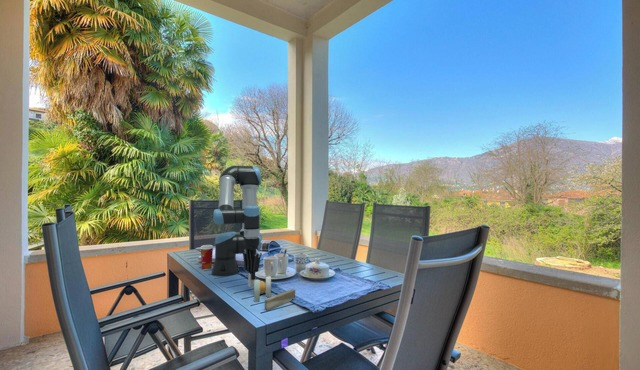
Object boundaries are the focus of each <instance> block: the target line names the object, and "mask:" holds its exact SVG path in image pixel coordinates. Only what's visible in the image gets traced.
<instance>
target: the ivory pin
mask: <svg viewBox="0 0 640 370" xmlns="http://www.w3.org/2000/svg"><path fill="white" fill-rule="evenodd" d="M265 283H266V291H265V298H266V299H268V298H270V297H272V276H271V275H268V276H265Z"/></svg>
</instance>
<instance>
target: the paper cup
mask: <svg viewBox="0 0 640 370" xmlns="http://www.w3.org/2000/svg"><path fill="white" fill-rule="evenodd" d="M199 249H200V261H201V262H200V263H201V270H203V269H208V270H212V268H213V252H214V246H213V245H212V244H203V245H201V246H200V247H199Z"/></svg>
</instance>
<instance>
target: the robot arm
mask: <svg viewBox="0 0 640 370" xmlns="http://www.w3.org/2000/svg"><path fill="white" fill-rule="evenodd" d="M218 184H219V186H220V187H219V197H218V208H216V209H214V210H213V216H212V217H213V223H214V224H216V225H231V224H232V225H233V224H238V225H239V224H242V227H241V229H240V230H239V233H238V234H237V232H236V231H226V232H222V233H219V234H217V235H216V236H215V238H214V239H215V241H214V244H215V246H214V247H215V249H214V250H215V251H214V252H215V253H214V262H213V264H212V268H211V275H213V276H216V277H227V276H232V275H236V274H238V273H239V272H238V271H240V270H239V269H240V267H239V263H238V260H237V256H236V255H242V257H243V265H244V270H245V271H246V273H247V279H248V280H247V286H248V288H249V287H250V288H251V287H254V280H256V273H259V268H260V262H261V257H262V255H263V254H262V252H260V250H261V248H262V247H261V246H262V239H263V238H262V237H263V234H262V233H261V232H260V230H261V229H260V222H261V221H260V219H261V218H260V217H261V216H260V214H261V212H260V206H259V205H257V199H258V197H257V190H258V189H259V188H260V185H262V176H261V169H260V168H259V166H255V165H231V166H228V167H227V168H226V169H224V170H223V171H222V172H221V174H220V175H219V179H218ZM235 185H239V188H240V189H241V191H242V193H241V194H242V200H241V201H242V203H241V204H242V205H241V206H242V208H234V202H235V201H234V195H235V194H234V191H235V189H234V188H235Z"/></svg>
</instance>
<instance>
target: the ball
mask: <svg viewBox="0 0 640 370" xmlns="http://www.w3.org/2000/svg"><path fill="white" fill-rule="evenodd" d="M264 293H266V281H263V280H260V295H263V294H264Z"/></svg>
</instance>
